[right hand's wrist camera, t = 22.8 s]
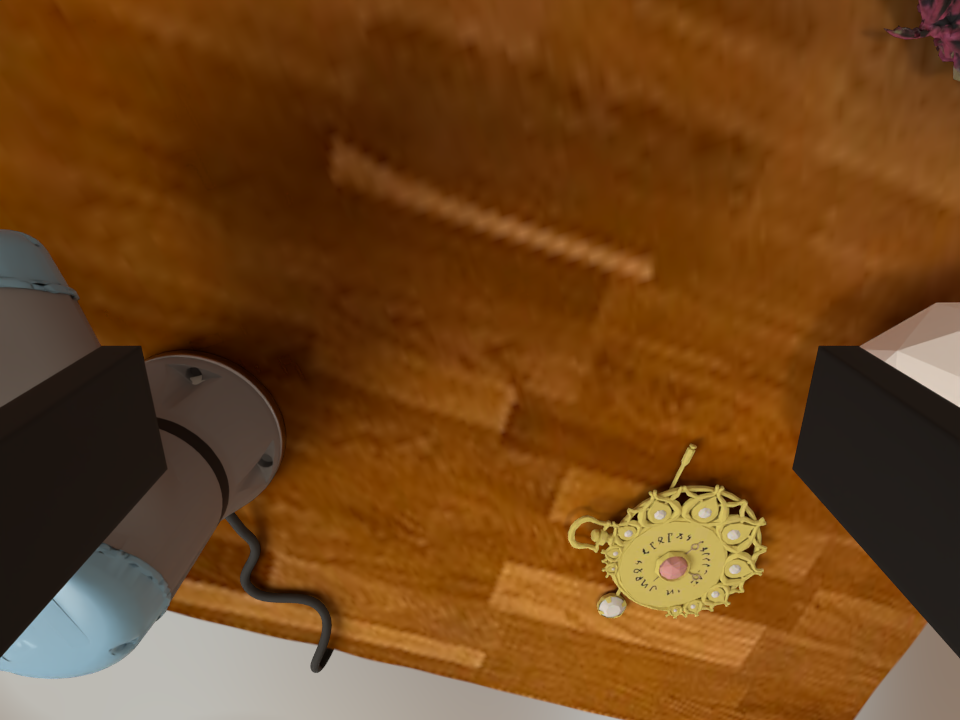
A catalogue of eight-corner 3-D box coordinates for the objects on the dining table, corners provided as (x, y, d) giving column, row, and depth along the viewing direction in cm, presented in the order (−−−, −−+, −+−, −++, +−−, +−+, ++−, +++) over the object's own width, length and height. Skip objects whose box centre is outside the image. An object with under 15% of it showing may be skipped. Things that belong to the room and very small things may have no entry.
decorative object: (722, 655, 62) (536, 616, 59) (712, 635, 64) (533, 597, 61) (824, 489, 55) (618, 435, 52) (809, 474, 57) (611, 421, 54)
